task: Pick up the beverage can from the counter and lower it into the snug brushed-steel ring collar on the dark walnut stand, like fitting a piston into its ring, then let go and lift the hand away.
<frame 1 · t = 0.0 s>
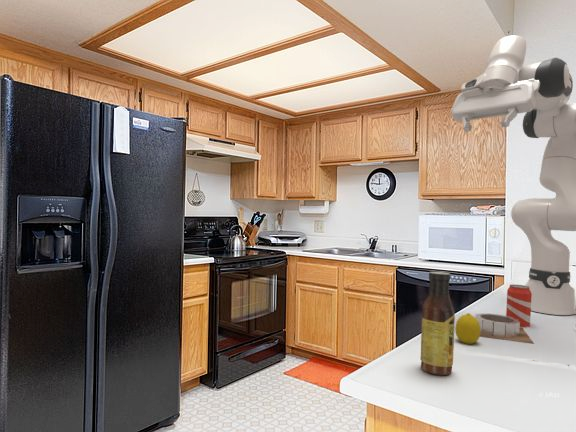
hand: (484, 127, 104), 54 cm above the counter, tool tilted 30°, fingers open, 8 cm apart
lemon: (467, 346, 99), on the counter
sauce bottle: (435, 371, 83), on the counter
piston ring: (496, 331, 109), resting on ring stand
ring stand: (496, 335, 109), on the counter
beverage can: (517, 327, 118), on the counter
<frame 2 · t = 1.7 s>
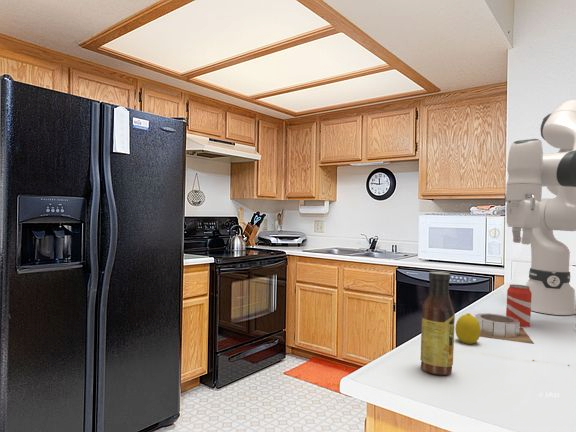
hand: (521, 243, 116), 24 cm above the counter, tool pointing down, fingers open, 8 cm apart
nothing on the counter moved.
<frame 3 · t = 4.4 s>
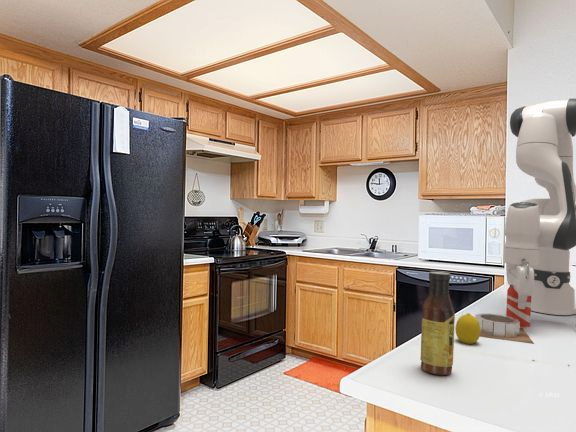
hand: (518, 305, 118), 6 cm above the counter, tool pointing down, fingers closed on beverage can, 6 cm apart
beverage can: (517, 327, 118), on the counter, touching gripper
everything else where it was.
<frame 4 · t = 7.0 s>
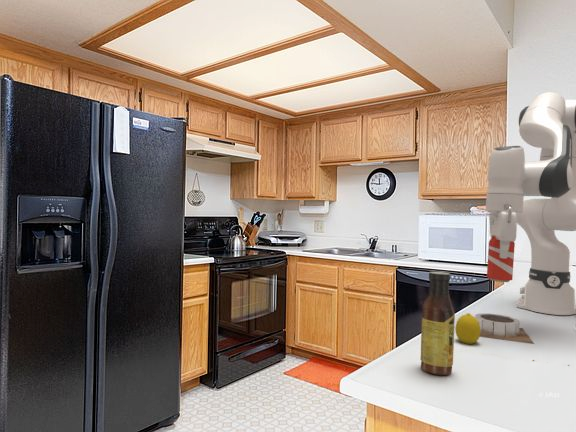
hand: (500, 257, 109), 21 cm above the counter, tool pointing down, fingers closed on beverage can, 6 cm apart
beverage can: (499, 281, 109), point 14 cm above the counter, touching gripper
everything else where it was.
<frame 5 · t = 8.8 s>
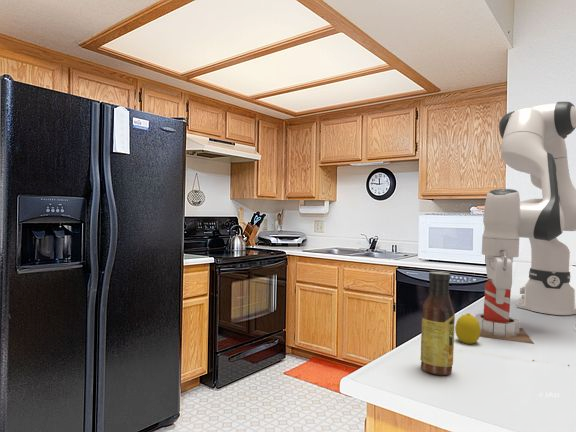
hand: (497, 300, 109), 9 cm above the counter, tool pointing down, fingers closed on beverage can, 6 cm apart
beverage can: (495, 325, 109), point 3 cm above the counter, touching gripper
everything else where it was.
when the fingers open (8 cm above the counter, at t = 9.9 s): beverage can stays where it is, resting on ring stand.
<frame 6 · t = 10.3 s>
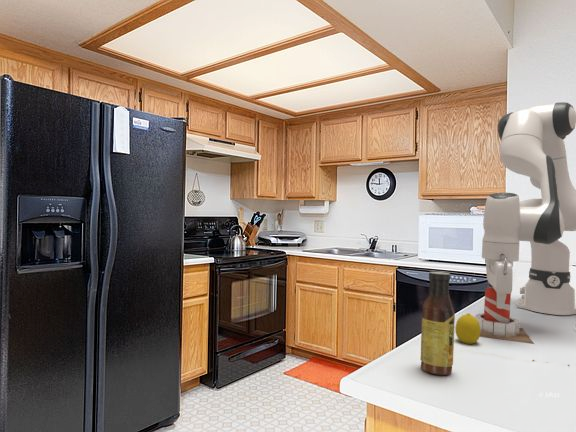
hand: (497, 304, 109), 8 cm above the counter, tool pointing down, fingers open, 8 cm apart
beverage can: (496, 331, 109), point 1 cm above the counter, touching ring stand
everything else where it was.
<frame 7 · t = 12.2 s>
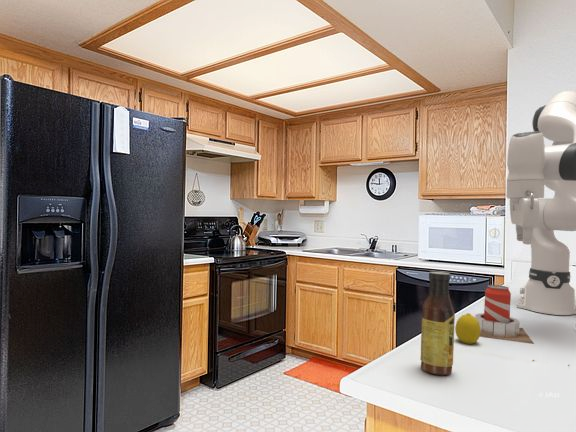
hand: (523, 242, 110), 25 cm above the counter, tool pointing down, fingers open, 8 cm apart
nothing on the counter moved.
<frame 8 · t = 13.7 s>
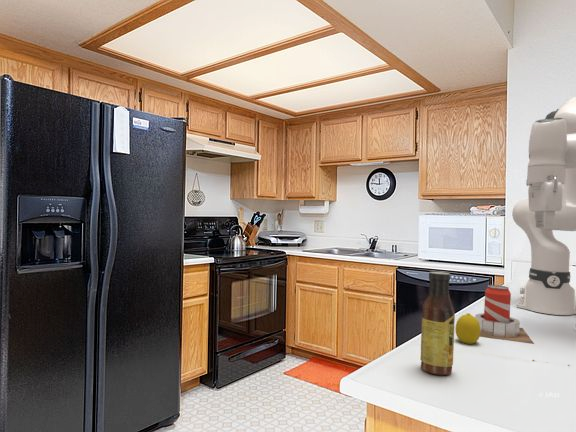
hand: (543, 228, 111), 29 cm above the counter, tool pointing down, fingers open, 8 cm apart
nothing on the counter moved.
at the end: beverage can 0.1 cm from the target spot, point 0.8 cm above the counter; beverage can tilted 0°; the gripper is holding nothing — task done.
